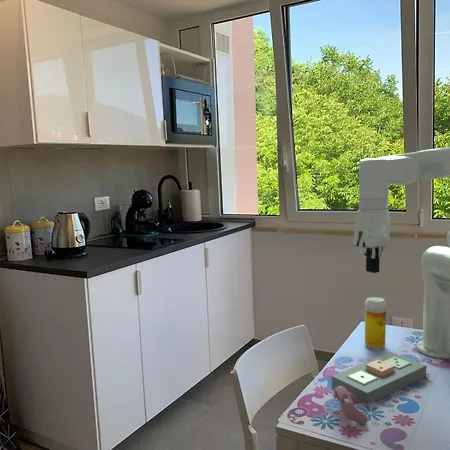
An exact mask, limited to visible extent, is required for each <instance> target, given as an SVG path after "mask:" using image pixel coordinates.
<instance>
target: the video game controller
mask: <svg viewBox="0 0 450 450" xmlns="http://www.w3.org/2000/svg"><path fill="white" fill-rule="evenodd" d="M333 391H334V392H333V393H334V394H332V396H333V398H334V400H338V401H339V403H338V404H339V405H340V408H341V411H342V412H343V415H344V416H345V417H347V419H348V420H349V419H350V420H352V421H353V422H355V423H356V424H360V425H365V424H367V423H368V417H367V415H366V414H365V413H363V412H362V411H361V410H359V409H358V408H357V407H356V406H355V405H356V404H357V402H358V400H357V398H356V397H355V396H354V395H353V394H352V393H350V392H349V391H348V390H346V388H345V387H343V386H338V387H336V388H333Z"/></svg>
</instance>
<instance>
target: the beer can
mask: <svg viewBox="0 0 450 450" xmlns="http://www.w3.org/2000/svg"><path fill="white" fill-rule="evenodd" d="M386 319H387V303H386V300H385V298H383V297H380V296H379V297H378V296H369V297H367V298H366V299H365V302H364V344H365V346H366V347H367V348H369V349H371V350H381V349H383V348H384V347H385V346H386V329H387V320H386Z"/></svg>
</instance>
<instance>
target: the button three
mask: <svg viewBox="0 0 450 450" xmlns="http://www.w3.org/2000/svg"><path fill="white" fill-rule="evenodd" d="M383 362H386V363H389V364H391V365H394V368H396V369H398V370H401V369H403V368H405V367H407V366H409V365H411V363H410V362H407V361H405V360H402V359H399V358H397V357H392V358H390V359H388V360H385V361H383Z"/></svg>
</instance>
